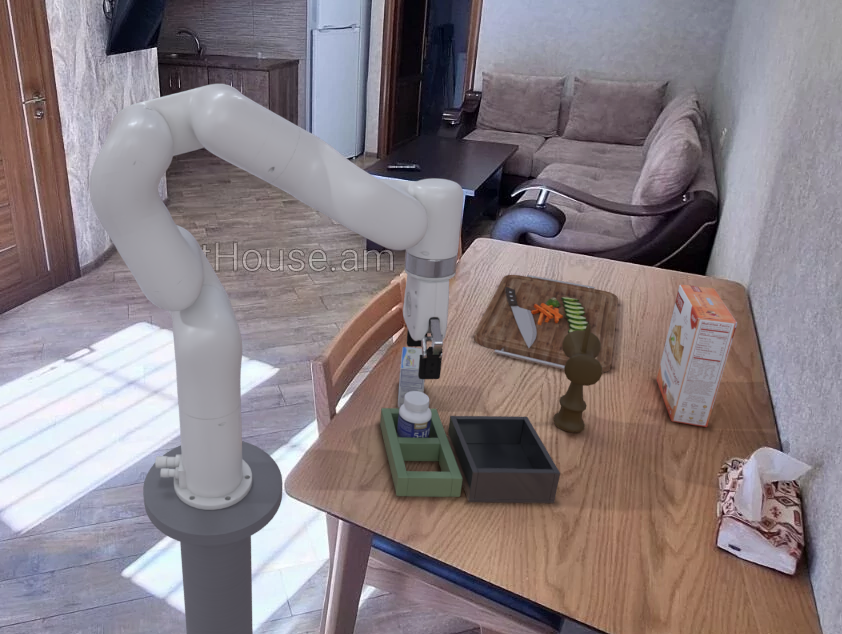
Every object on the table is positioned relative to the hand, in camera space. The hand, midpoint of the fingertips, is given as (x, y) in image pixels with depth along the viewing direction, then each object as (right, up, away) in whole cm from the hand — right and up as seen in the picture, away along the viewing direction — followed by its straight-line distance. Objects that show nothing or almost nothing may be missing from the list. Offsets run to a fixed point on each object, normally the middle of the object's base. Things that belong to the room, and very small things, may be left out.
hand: (422, 361), depth 103 cm
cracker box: (+51, -11, +16) cm, 54 cm away
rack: (0, -16, +2) cm, 16 cm away
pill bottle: (0, -15, +6) cm, 16 cm away
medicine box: (+2, -10, +18) cm, 21 cm away
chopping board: (+41, +2, +47) cm, 62 cm away
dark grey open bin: (+12, -17, -1) cm, 21 cm away
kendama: (+28, -13, +10) cm, 32 cm away
